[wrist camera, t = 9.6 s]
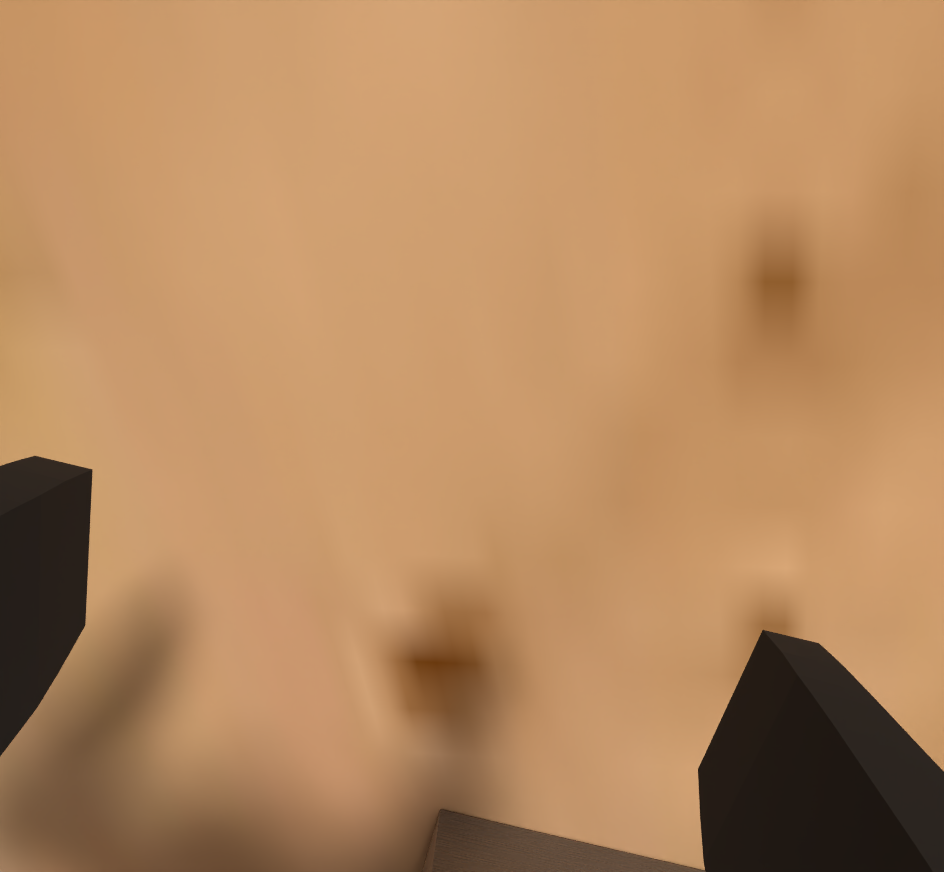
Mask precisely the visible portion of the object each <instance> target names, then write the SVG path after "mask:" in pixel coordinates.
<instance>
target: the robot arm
mask: <svg viewBox="0 0 944 872" xmlns="http://www.w3.org/2000/svg"><path fill="white" fill-rule="evenodd" d="M91 489H92V469H88V468H84V467H79V466H75V465H71V464H67V463H63V462H59V461H54V460H50V459H46V458H42V457H38V456H33V457H29V458H25V459H22V460H18V461H14V462H11V463H8V464H5V465H2V466H0V756H1V755H2V753H3V752H4V751H5V749H6V748H7V747H8V745H9V744H10V743H11V742H12V740H13V739H14V738H15V736H16V735H17V734H18V732H19V731H20V730H21V728H22V727H23V726H24V724H25V723H26V722H27V720H28V719H29V718H30V716H31V715H32V714H33V712H34V711H35V710H36V708H37V707H38V705H39V704H40V702H41V700H42V699H43V697H44V695H45V694H46V692H47V691H48V689H49V687H50V686H51V684H52V682H53V681H54V679H55V677H56V676H57V674H58V672H59V671H60V669H61V667H62V665H63V664H64V662H65V660H66V658H67V657H68V655H69V653H70V651H71V650H72V648H73V646H74V644H75V643H76V641H77V639H78V637H79V636H80V634H81V632H82V630H83V628H84V627H85V619H86V598H87V576H88V554H89V532H90V510H91ZM698 778H699V799H700V820H701V832H702V845H703V858H704V866H705V871H706V872H944V771H943V770H942V769H941V768H940V767H939V766H938V765H937V764H936V763H935V762H934V761H933V760H932V759H931V758H930V757H929V756H928V755H927V754H926V753H925V751H924V750H923V749H922V748H921V747H920V746H919V745H918V744H917V743H916V742H915V741H914V740H913V739H912V738H911V737H910V736H909V734H908V733H907V732H906V731H905V730H904V729H903V728H902V727H901V726H900V725H899V724H898V723H897V722H896V721H895V720H894V719H893V717H892V716H891V715H890V714H889V713H888V712H887V711H886V710H885V709H884V708H883V707H882V706H881V705H880V704H879V703H878V702H877V700H876V699H875V698H874V697H873V696H872V695H871V694H870V693H869V692H868V691H867V690H866V689H865V688H864V687H863V686H862V685H861V684H860V683H859V682H858V681H857V680H856V679H855V678H854V676H853V675H852V674H851V673H850V672H849V671H848V670H847V669H846V668H845V667H844V666H843V665H842V664H841V663H840V662H838V661H837V660H836V659H835V658H834V657H833V656H832V655H831V654H830V653H829V652H828V651H827V650H826V649H825V648H823V647H822V646H821V645H820V644H819V643H815V642H811V641H807V640H803V639H799V638H794V637H790V636H786V635H782V634H778V633H773V632H769V631H765V630H763V631H762V633H761V635H760V637H759V639H758V641H757V644H756V646H755V648H754V650H753V652H752V654H751V657H750V659H749V661H748V663H747V665H746V667H745V669H744V672H743V674H742V676H741V678H740V680H739V682H738V685H737V687H736V689H735V691H734V693H733V695H732V697H731V700H730V702H729V704H728V706H727V708H726V710H725V712H724V715H723V717H722V719H721V721H720V723H719V725H718V728H717V730H716V732H715V734H714V736H713V738H712V740H711V743H710V745H709V747H708V749H707V751H706V753H705V756H704V758H703V760H702V762H701V764H700V766H699V768H698Z"/></svg>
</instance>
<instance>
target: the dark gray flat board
mask: <svg viewBox="0 0 944 872" xmlns="http://www.w3.org/2000/svg"><path fill="white" fill-rule="evenodd" d="M422 872H706V871H703V870H699V869H695V868H691V867H686V866H682V865H678V864H673V863H669V862H665V861H660V860H656V859H652V858H647V857H643V856H639V855H635V854H630V853H626V852H622V851H617V850H613V849H609V848H604V847H600V846H596V845H591V844H587V843H583V842H579V841H574V840H570V839H566V838H561V837H557V836H553V835H548V834H544V833H540V832H535V831H531V830H527V829H523V828H518V827H514V826H510V825H505V824H501V823H497V822H492V821H488V820H484V819H479V818H475V817H471V816H467V815H462V814H458V813H454V812H449V811H445V810H441V809H440V812H439V816H438V819H437V822H436V826H435V829H434V833H433V836H432V839H431V843H430V846H429V849H428V853H427V856H426V859H425V863H424V866H423V869H422Z"/></svg>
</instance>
